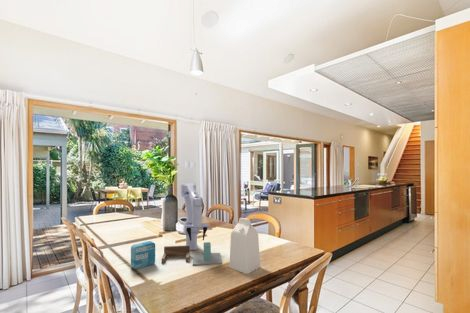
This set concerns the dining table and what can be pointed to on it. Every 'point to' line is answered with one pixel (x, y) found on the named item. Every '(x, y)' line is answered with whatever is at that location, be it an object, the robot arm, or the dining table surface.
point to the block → (207, 251)
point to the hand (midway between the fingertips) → (197, 240)
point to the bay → (176, 252)
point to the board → (199, 260)
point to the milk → (244, 247)
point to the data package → (142, 254)
